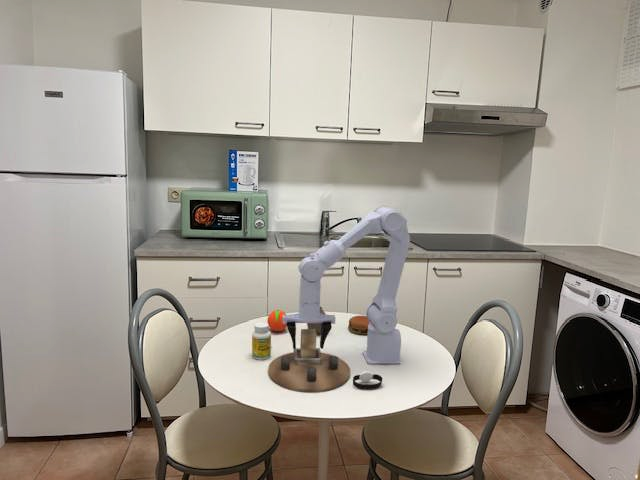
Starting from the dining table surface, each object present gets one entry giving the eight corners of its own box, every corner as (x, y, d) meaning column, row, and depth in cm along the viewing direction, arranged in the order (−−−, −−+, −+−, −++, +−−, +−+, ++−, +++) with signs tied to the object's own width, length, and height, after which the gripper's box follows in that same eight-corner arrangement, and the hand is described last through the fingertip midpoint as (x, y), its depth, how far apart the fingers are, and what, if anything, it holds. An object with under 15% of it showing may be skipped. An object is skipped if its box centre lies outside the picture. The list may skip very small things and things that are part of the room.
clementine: (287, 336, 149) (287, 315, 148) (265, 335, 149) (265, 314, 148) (288, 327, 157) (289, 307, 156) (268, 326, 157) (268, 306, 156)
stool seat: (343, 354, 138) (343, 341, 137) (356, 391, 116) (357, 376, 116) (268, 354, 135) (268, 341, 135) (268, 393, 114) (268, 378, 113)
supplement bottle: (265, 351, 138) (266, 320, 136) (273, 358, 134) (274, 326, 132) (248, 354, 135) (249, 323, 133) (256, 361, 131) (257, 329, 129)
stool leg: (313, 355, 134) (315, 329, 132) (315, 361, 130) (316, 334, 128) (300, 355, 133) (300, 329, 132) (301, 361, 129) (302, 334, 128)
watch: (379, 381, 123) (380, 368, 122) (384, 390, 118) (385, 376, 118) (350, 382, 121) (351, 369, 121) (354, 391, 117) (355, 378, 116)
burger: (343, 327, 160) (344, 314, 159) (367, 324, 163) (368, 311, 162) (356, 338, 151) (357, 324, 150) (381, 335, 154) (382, 321, 154)
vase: (327, 336, 150) (328, 311, 149) (306, 336, 150) (307, 310, 149) (327, 329, 157) (328, 304, 156) (307, 328, 157) (308, 303, 156)
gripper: (333, 296, 133) (331, 341, 136) (282, 296, 132) (281, 341, 134) (337, 304, 126) (335, 351, 129) (283, 304, 125) (282, 352, 127)
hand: (307, 347), depth 131 cm, fingers open, 7 cm apart
